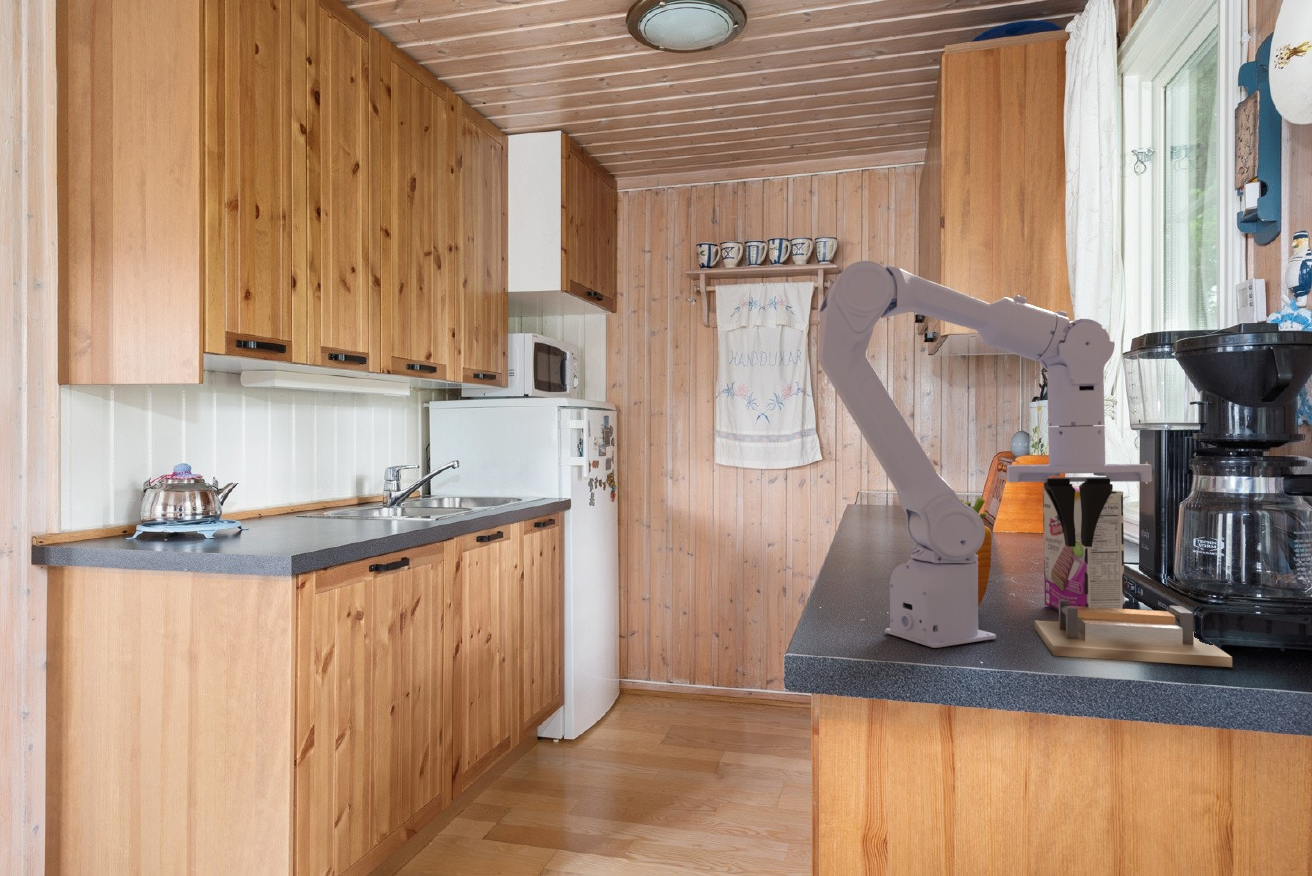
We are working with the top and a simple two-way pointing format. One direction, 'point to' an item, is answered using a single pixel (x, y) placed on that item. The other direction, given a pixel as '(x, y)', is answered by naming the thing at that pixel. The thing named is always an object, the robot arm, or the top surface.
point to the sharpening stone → (1129, 629)
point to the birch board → (1130, 649)
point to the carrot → (983, 553)
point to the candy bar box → (1085, 557)
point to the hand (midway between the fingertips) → (1078, 545)
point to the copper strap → (1123, 614)
